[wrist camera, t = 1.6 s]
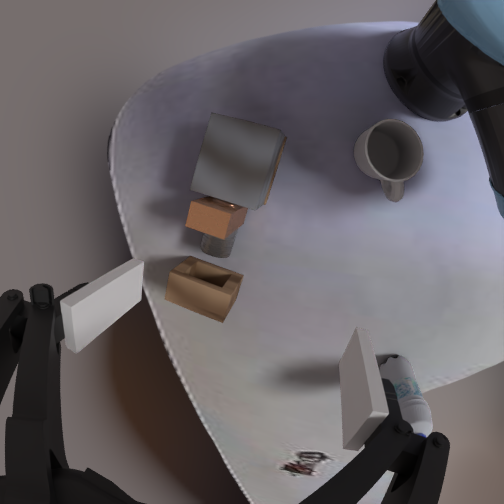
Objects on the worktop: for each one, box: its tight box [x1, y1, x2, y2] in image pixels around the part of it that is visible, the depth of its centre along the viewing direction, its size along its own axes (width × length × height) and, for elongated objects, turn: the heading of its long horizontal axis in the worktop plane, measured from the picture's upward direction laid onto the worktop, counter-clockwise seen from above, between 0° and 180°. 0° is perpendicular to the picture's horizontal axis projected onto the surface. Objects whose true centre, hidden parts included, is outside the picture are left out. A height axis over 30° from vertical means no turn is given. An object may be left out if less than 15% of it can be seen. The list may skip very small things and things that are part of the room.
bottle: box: [379, 356, 433, 438], centre depth 35 cm, size 7×7×20 cm
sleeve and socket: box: [165, 113, 287, 323], centre depth 39 cm, size 26×9×8 cm, turn 163°
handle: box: [185, 196, 248, 258], centre depth 35 cm, size 18×5×10 cm, turn 163°
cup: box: [354, 119, 424, 202], centre depth 32 cm, size 7×10×9 cm
